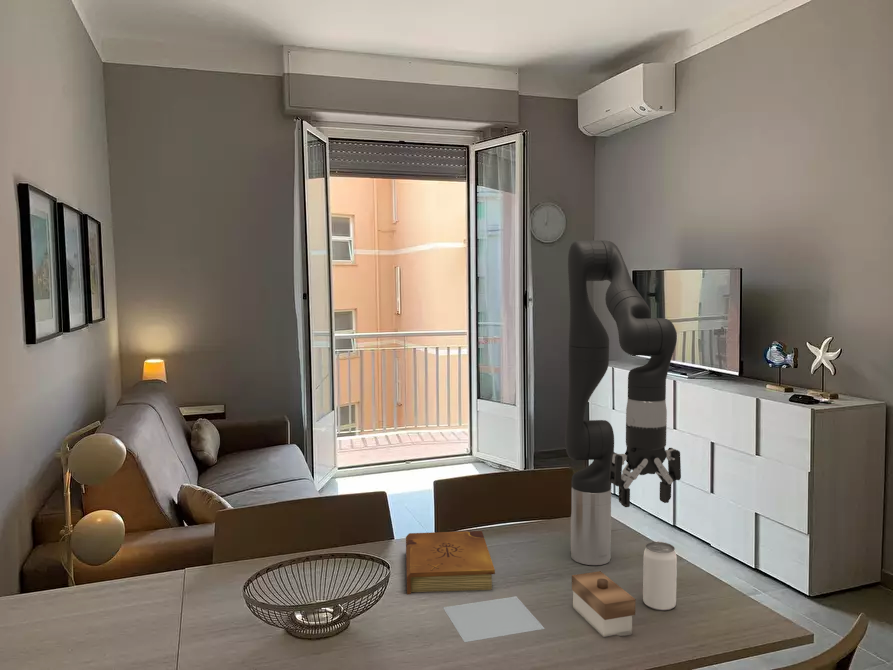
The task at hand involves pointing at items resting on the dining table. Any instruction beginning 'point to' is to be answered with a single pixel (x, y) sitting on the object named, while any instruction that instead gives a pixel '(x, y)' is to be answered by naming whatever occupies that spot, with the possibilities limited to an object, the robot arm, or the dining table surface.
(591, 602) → the lid
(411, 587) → the diary
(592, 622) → the dish
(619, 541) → the dining table surface
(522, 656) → the dining table surface
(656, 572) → the can
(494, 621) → the mat
